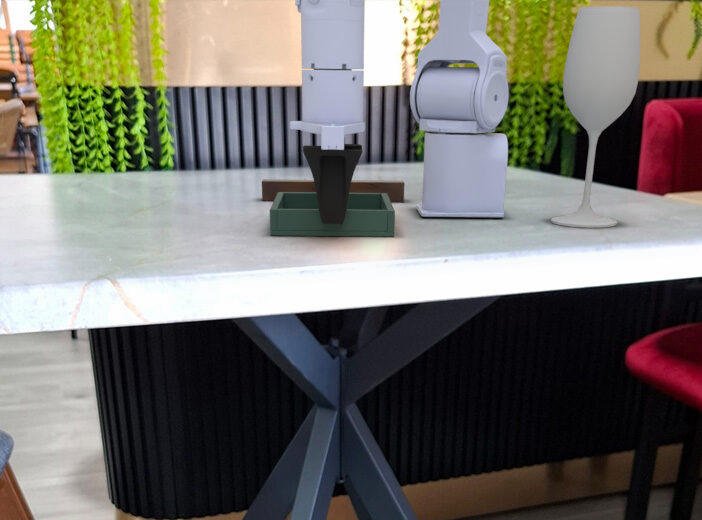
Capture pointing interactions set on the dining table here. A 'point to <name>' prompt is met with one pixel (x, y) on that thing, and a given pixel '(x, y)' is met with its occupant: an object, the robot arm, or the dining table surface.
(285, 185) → the bar
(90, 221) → the dining table surface
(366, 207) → the tray
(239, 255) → the dining table surface
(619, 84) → the wineglass
